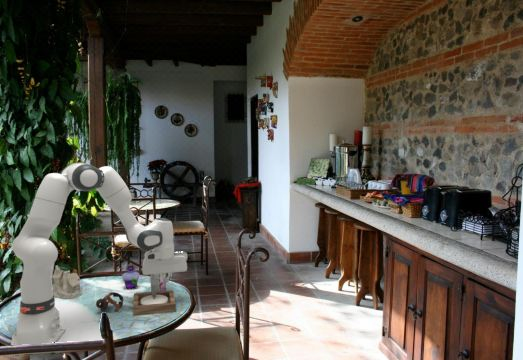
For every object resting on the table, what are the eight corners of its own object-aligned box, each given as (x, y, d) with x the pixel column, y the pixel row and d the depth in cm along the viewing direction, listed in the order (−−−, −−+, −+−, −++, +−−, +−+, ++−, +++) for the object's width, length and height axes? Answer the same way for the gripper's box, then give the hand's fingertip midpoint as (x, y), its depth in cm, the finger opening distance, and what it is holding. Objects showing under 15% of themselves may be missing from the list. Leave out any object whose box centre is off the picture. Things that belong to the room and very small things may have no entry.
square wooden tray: (175, 311, 199) (175, 303, 199) (133, 315, 195) (132, 307, 194) (173, 297, 216) (173, 289, 216) (134, 300, 212) (134, 292, 212)
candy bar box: (156, 288, 228) (155, 256, 226) (166, 288, 228) (165, 256, 226) (150, 297, 217) (149, 263, 215) (160, 297, 217) (159, 263, 215)
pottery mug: (111, 304, 209) (119, 289, 208) (121, 318, 204) (129, 303, 202) (88, 305, 200) (96, 290, 198) (98, 320, 194) (106, 304, 193)
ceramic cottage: (67, 300, 212) (66, 268, 211) (45, 295, 220) (44, 265, 220) (94, 292, 225) (94, 262, 225) (73, 288, 234) (72, 259, 233)
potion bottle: (131, 291, 224) (131, 267, 223) (118, 288, 228) (117, 265, 227) (143, 286, 232) (142, 263, 231) (130, 283, 236) (129, 261, 234)
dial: (168, 307, 201) (168, 292, 200) (140, 309, 198) (139, 294, 198) (167, 297, 213) (166, 283, 212) (140, 299, 210) (140, 285, 209)
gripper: (186, 249, 214) (187, 277, 216) (141, 252, 209) (143, 281, 211) (187, 252, 208) (188, 282, 209) (141, 256, 203) (142, 286, 205)
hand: (165, 281), depth 210 cm, fingers closed
